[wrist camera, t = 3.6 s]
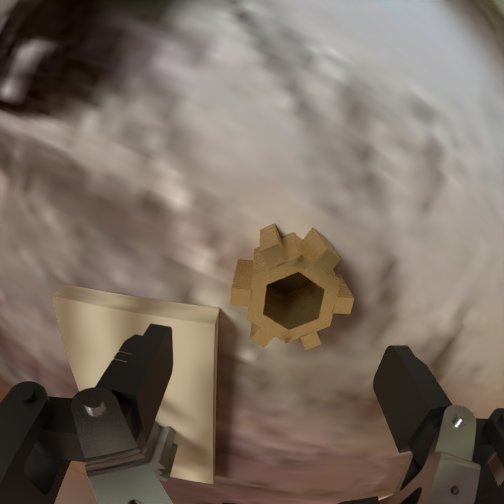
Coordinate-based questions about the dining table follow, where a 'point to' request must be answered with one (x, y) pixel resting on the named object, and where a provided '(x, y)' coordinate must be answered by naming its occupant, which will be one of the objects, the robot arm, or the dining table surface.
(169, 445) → the gear board
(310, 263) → the brass gear
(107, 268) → the dining table surface
